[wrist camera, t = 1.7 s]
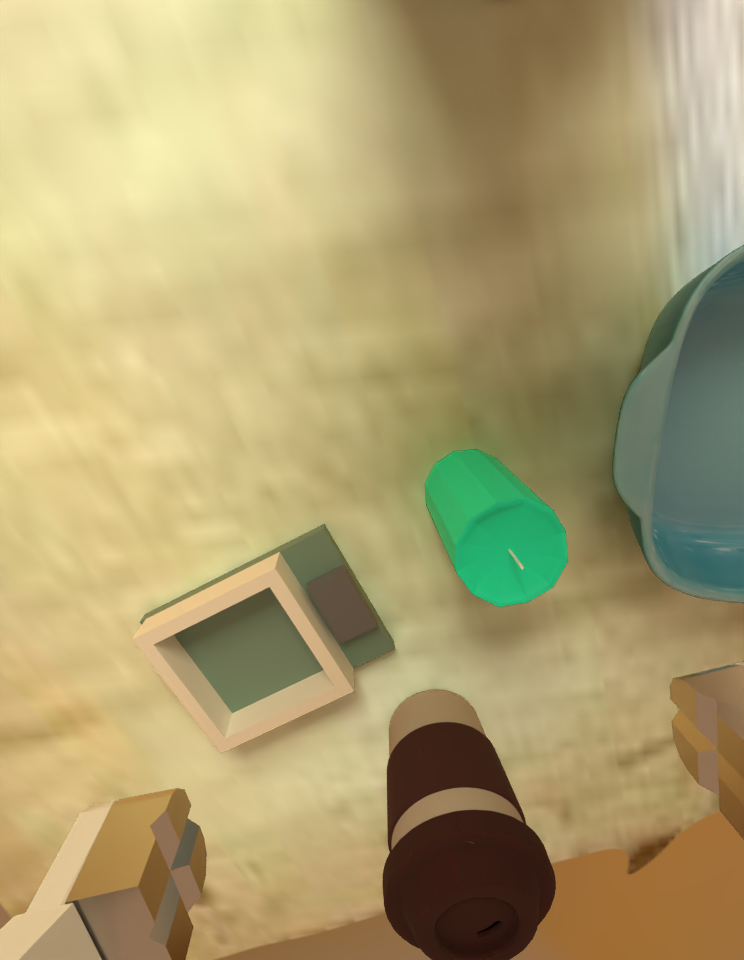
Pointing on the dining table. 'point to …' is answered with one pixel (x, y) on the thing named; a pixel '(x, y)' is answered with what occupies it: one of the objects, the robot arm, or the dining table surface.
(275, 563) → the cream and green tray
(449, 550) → the candle
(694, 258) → the dining table surface
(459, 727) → the coffee cup
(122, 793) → the dining table surface
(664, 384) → the casserole dish
